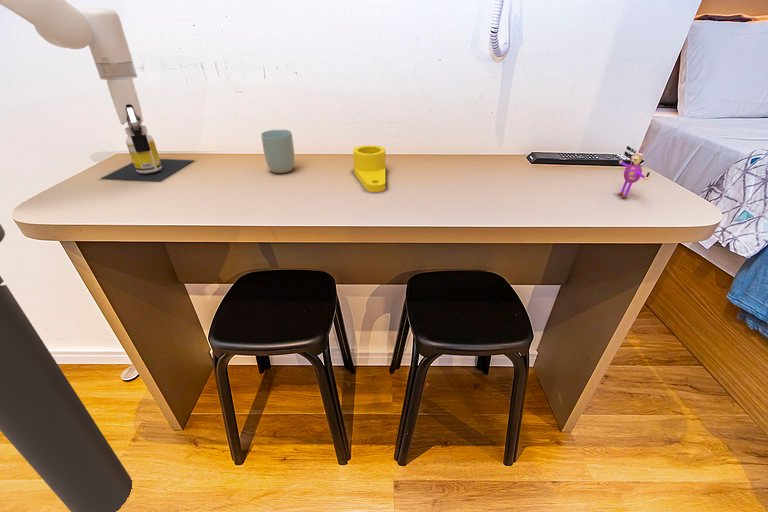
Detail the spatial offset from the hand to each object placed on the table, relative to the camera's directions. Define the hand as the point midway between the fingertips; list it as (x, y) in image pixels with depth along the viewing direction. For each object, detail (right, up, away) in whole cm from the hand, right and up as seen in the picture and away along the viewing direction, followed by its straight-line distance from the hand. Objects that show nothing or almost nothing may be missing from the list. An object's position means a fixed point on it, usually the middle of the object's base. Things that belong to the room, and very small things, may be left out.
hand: (142, 147), depth 99 cm
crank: (+59, -8, 0) cm, 60 cm away
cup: (+35, -5, +5) cm, 35 cm away
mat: (-1, -4, +6) cm, 7 cm away
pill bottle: (0, -5, +3) cm, 6 cm away
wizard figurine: (+118, -14, -9) cm, 120 cm away
